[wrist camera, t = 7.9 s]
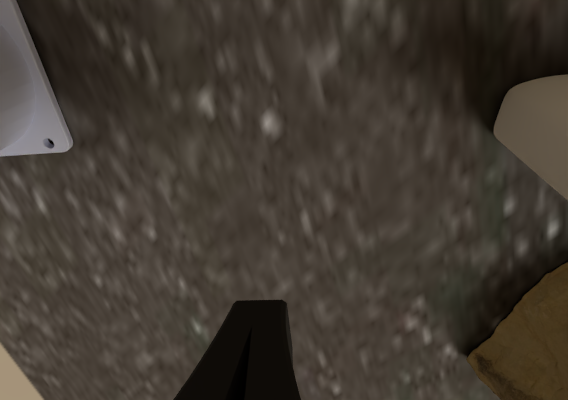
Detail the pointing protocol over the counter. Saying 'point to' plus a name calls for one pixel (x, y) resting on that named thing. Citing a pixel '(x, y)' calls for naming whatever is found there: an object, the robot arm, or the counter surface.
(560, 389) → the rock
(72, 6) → the counter surface
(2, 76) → the robot arm
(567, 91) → the eye dropper bottle
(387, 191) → the counter surface
